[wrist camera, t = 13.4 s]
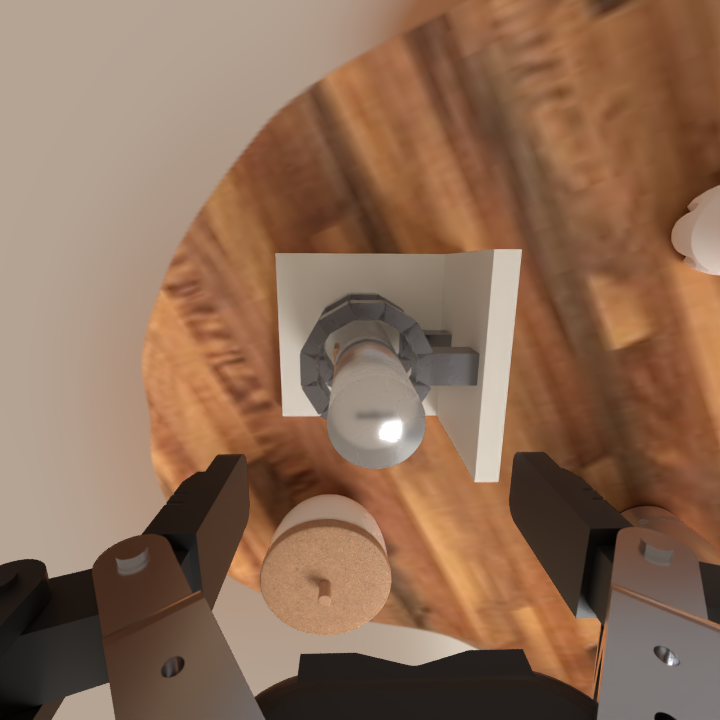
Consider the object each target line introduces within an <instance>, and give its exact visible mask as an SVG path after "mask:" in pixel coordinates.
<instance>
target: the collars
mask: <svg viewBox="0 0 720 720" xmlns="http://www.w3.org/2000/svg"><path fill="white" fill-rule="evenodd" d="M354 320H381V321H383V322H385V323H386V324H388V325H390V326H392V327H393V328H395V329H397V330H398V331H399V333H400V334H399V353H398V354H397V356H398V358H399V360H400V362H401V363H402V365H403V367H404V369H405V371H406V373H408V371H409V370H410V368H411V375H410V376H409V379H410V381H411V383H412V385H413V387H414V389H415V391H416V393H417V394H418V396H419V398H420V400H421V402H423V400H424V399H425V397H426V396H427V394H428V393H429V391H430V390H431V386H477V380H478V367H479V355H480V354H479V353H478V352H476V351H475V350H473V349H472V348H471V347H451V341H452V334H450V333H449V332H448V331H446V330H422V329H421V327H420V326H419V324H418V322H417V321H416V320H415V319H413V318H412V317H411V316H409V315H408V314H406V313H405V312H404V311H403V309H402V308H401V307H399V306H398V305H396V304H395V303H393V302H391V301H390V300H388V299H386V298H385V297H383V296H381V295H380V294H378V293H377V294H376V293H350V295H349V293H348V294H346V295H344V296H342V297H341V298H339V299H337V300H335V301H334V302H332V303H330V304H329V305H327V306H326V307H325V308H324V310H323V312H322V314H321V316H320V317H319V319H318V321H317V323H316V325H315V326H314V328H313V330H312V332H311V333H310V335H309V337H308V339H307V341H306V342H305V344H304V346H303V348H302V349H301V351H300V352H301V353H300V378H301V386H302V390H303V391H304V393H305V395H306V396H307V398H308V399H309V401H310V402H311V404H312V405H313V407H314V409H315V410H316V412H317V413H318V415H319V414H321V415H320V417H322V418H324V419H326V420H327V415H328V409H329V402H330V395H331V391H330V390H329V388H328V386H330V387H332V381H333V374H334V365H333V363H332V362H331V360H330V358H329V357H328V355H327V353H326V340H327V338H328V337H329V335H330V334H331V333H333V332H334V331H336V330H338V329H340V328H341V327H343V326H345V325H347V324H348V323H350V322H352V321H354ZM326 383H327V384H326ZM327 385H328V386H327Z"/></svg>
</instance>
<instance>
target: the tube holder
mask: <svg viewBox="0 0 720 720" xmlns="http://www.w3.org/2000/svg"><path fill="white" fill-rule="evenodd" d="M521 254H522V249H491V250H481V251H471V252H461V253H451V254H343V253H275V257H276V279H277V301H278V323H279V344H280V366H281V388H282V410H283V416H320V415H321V414H319V415H318V413H317V412H316V410H315V409H314V407H313V405H312V404H311V402H310V401H309V399H308V398H307V396H306V395H305V393H304V391H303V390H302V386H301V378H300V353H301V352H300V351H301V349H302V348H303V346H304V344H305V342H306V341H307V339H308V337H309V335H310V333H311V332H312V330H313V328H314V326H315V325H316V323H317V321H318V319H319V317H320V316H321V314H322V312H323V310H324V308H325V307H326V306H327V305H329V304H330V303H332V302H334V301H335V300H337V299H339V298H341V297H342V296H344V295H346V294H348V293H349V295H350V293H376V294H377V293H378V294H380V295H381V296H383V297H385V298H386V299H388V300H390V301H391V302H393V303H395V304H396V305H398V306H399V307H401V308H402V309H403V311H404V312H405V313H406V314H408V315H409V316H411V317H412V318H413V319H415V320H416V321H417V322H418V324H419V326H420V327H421V329H422V330H446V331H448V332H449V333H450V334H452V341H451V347H471V348H472V349H473V350H475V351H476V352H478V353H479V354H480V355H479V367H478V380H477V386H431V390H430V391H429V393H428V394H427V396H426V397H425V399H424V400H423V402H422V404H423V407H424V410H425V415H426V416H430V415H437V417H438V419H439V421H440V422H441V424H442V426H443V428H444V429H445V431H446V433H447V435H448V436H449V438H450V440H451V442H452V443H453V445H454V447H455V449H456V450H457V452H458V454H459V456H460V457H461V459H462V461H463V463H464V464H465V466H466V468H467V470H468V471H469V473H470V475H471V477H472V478H473V480H474V482H499V472H500V462H501V452H502V442H503V432H504V422H505V412H506V403H507V393H508V383H509V373H510V363H511V353H512V343H513V333H514V323H515V314H516V304H517V294H518V284H519V274H520V264H521ZM377 321H378V322H379V323H380V324H381V325H382V327H383V329H384V331H385V332H386V334H387V336H388V338H389V340H390V342H391V344H392V346H393V348H394V350H395V352H396V354H398V353H399V334H400V333H399V331H398V330H397V329H395V328H393V327H392V326H390V325H388V324H386V323H385V322H383V321H381V320H377ZM341 329H342V327H341V328H340V329H338V330H336V331H334V332H333V333H331V334H330V335H329V337H328V338H327V340H326V353H327V355H328V357H329V358H330V360H331V362H332V363H333V365H334V346H335V343H338V340H339V334H340V331H341ZM407 375H408V377H409V376H410V375H411V368H410V370H409V371H408V373H407ZM326 384H327V383H326ZM327 386H328V385H327ZM328 388H329V390H330V391H331V388H332V387H330V386H328Z"/></svg>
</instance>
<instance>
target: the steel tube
mask: <svg viewBox="0 0 720 720" xmlns="http://www.w3.org/2000/svg"><path fill="white" fill-rule="evenodd" d="M425 429H426V415H425V410H424V407H423V404H422V402H421V400H420V398H419V396H418V394H417V393H416V391H415V389H414V387H413V385H412V383H411V381H410V379H409V377H408V375H407V373H406V371H405V369H404V367H403V365H402V363H401V362H400V360H399V358H398V356H397V354H396V352H395V350H394V348H393V346H392V344H391V342H390V340H389V338H388V336H387V334H386V332H385V331H384V329H383V327H382V325H381V324H380V323H379V322H378V321H377V320H354V321H352V322H350V323H348V324H347V325H345V326H343V327H342V329H341V331H340V334H339V340H338V343H335V346H334V374H333V381H332V388H331V395H330V402H329V409H328V415H327V431H328V436H329V438H330V441H331V443H332V445H333V447H334V448H335V449H336V451H337V452H338V453H339V454H340V455H341V456H342V457H343V458H344V459H346V460H347V461H349V462H350V463H352V464H355V465H357V466H360V467H363V468H369V469H382V468H387V467H391V466H394V465H396V464H399V463H401V462H402V461H404V460H406V459H407V458H408V457H409V456H411V455H412V454H413V453H414V452H415V450H416V449H417V448H418V446H419V445H420V443H421V441H422V439H423V436H424V433H425Z"/></svg>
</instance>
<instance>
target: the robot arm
mask: <svg viewBox="0 0 720 720" xmlns="http://www.w3.org/2000/svg"><path fill="white" fill-rule="evenodd" d="M509 505H510V512H511V515H512V518H513V521H514V522H515V524H516V525H517V527H518V529H519V530H520V532H521V533H522V535H523V536H524V538H525V540H526V541H527V543H528V544H529V546H530V547H531V549H532V550H533V552H534V554H535V555H536V557H537V558H538V560H539V561H540V563H541V564H542V566H543V568H544V569H545V571H546V572H547V574H548V575H549V577H550V579H551V580H552V582H553V583H554V585H555V586H556V588H557V589H558V591H559V593H560V594H561V596H562V597H563V599H564V600H565V602H566V604H567V605H568V607H569V608H570V610H571V611H572V613H573V614H574V616H575V618H598V619H599V621H600V622H601V628H600V633H599V640H598V647H597V655H596V662H595V669H594V676H593V684H592V691H591V698H590V697H589V696H587V695H586V694H584V693H583V692H581V691H579V690H577V689H576V688H574V687H572V686H570V685H568V684H566V683H564V682H562V681H560V680H558V679H555V678H553V677H550V676H547V675H544V674H542V673H538V672H534V671H532V669H531V667H530V665H529V662H528V660H527V658H526V656H525V654H524V651H523V649H509V650H469V651H465V652H462V653H458V654H455V655H452V656H448V657H445V658H442V659H439V660H436V661H432V662H429V663H426V664H422V665H418V666H410V665H405V664H400V663H396V662H392V661H388V660H384V659H380V658H375V657H371V656H367V655H363V654H358V653H327V654H301V656H300V663H299V671H298V675H297V676H294V677H291V678H288V679H286V680H283V681H281V682H279V683H277V684H275V685H273V686H271V687H269V688H268V689H266V690H264V691H262V692H261V693H259V694H258V695H257V696H255V697H254V696H253V694H252V692H251V690H250V688H249V686H248V684H247V682H246V680H245V678H244V676H243V674H242V672H241V669H240V667H239V665H238V664H237V661H236V659H235V657H234V655H233V653H232V651H231V649H230V647H229V645H228V643H227V641H226V639H225V637H224V635H223V633H222V631H221V629H220V627H219V625H218V623H217V621H216V619H215V617H214V615H213V613H212V609H213V607H214V604H215V601H216V599H217V597H218V594H219V592H220V589H221V587H222V584H223V582H224V579H225V577H226V575H227V572H228V570H229V567H230V565H231V562H232V560H233V557H234V555H235V552H236V550H237V547H238V545H239V542H240V540H241V537H242V535H243V532H244V530H245V527H246V525H247V522H248V517H249V508H250V501H249V487H248V474H247V461H246V457H245V455H244V454H225V455H217V456H216V457H215V459H214V460H213V462H212V463H211V464H210V466H209V467H208V469H207V470H206V472H197V473H195V474H194V475H192V476H191V477H189V478H188V479H186V480H185V481H183V482H182V483H181V485H180V486H179V487H178V489H177V490H176V491H175V492H174V495H172V496H171V498H170V499H169V500H168V501H167V504H166V505H164V506H163V508H162V509H161V510H160V512H159V513H158V514H157V515H156V517H155V518H154V519H153V521H152V522H151V523H150V524H149V526H148V527H147V528H146V530H145V531H144V532H143V533H142V535H138V536H134V537H131V538H128V539H125V540H123V541H121V542H118V543H117V544H115V545H113V546H111V547H110V548H108V549H107V550H106V551H104V552H103V553H102V554H101V555H100V556H99V557H98V558H97V560H96V561H95V563H94V565H93V568H92V569H88V570H85V571H81V572H76V573H72V574H67V575H63V576H59V577H55V578H51V579H49V578H48V573H47V569H46V566H45V564H44V563H43V562H41V561H39V560H34V559H24V560H17V561H13V562H10V563H5V564H3V565H0V720H52V718H53V716H54V715H55V713H56V711H57V709H58V708H59V706H60V705H61V703H62V701H63V699H64V698H65V697H66V696H69V695H72V694H75V693H78V692H81V691H84V690H87V689H90V688H93V687H96V686H100V685H103V684H106V683H110V689H111V695H112V702H113V708H114V714H115V720H720V550H719V549H717V548H716V547H715V546H713V545H712V544H711V543H710V542H708V541H707V540H706V539H705V538H703V537H702V536H701V535H699V534H698V533H697V532H696V531H694V530H693V529H692V528H690V527H689V526H688V525H686V524H685V523H684V522H683V521H681V520H680V519H679V518H677V517H676V516H675V515H674V514H672V513H671V512H669V511H667V510H665V509H663V508H659V507H655V506H641V507H635V508H632V509H628V510H626V511H624V512H622V513H619V512H618V511H617V510H616V509H615V508H614V507H612V506H611V505H610V504H609V503H608V502H607V501H606V500H603V497H602V496H600V495H599V494H598V493H597V492H596V491H593V488H592V487H591V486H590V485H588V484H587V483H586V482H585V481H584V480H583V479H582V478H581V477H579V476H577V475H575V474H573V473H571V472H570V471H568V470H566V469H564V468H560V467H559V466H558V465H557V464H556V463H555V462H554V461H553V460H552V459H551V458H550V457H549V456H548V455H547V454H546V453H544V452H517V453H516V454H515V456H514V459H513V467H512V477H511V487H510V497H509Z"/></svg>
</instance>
